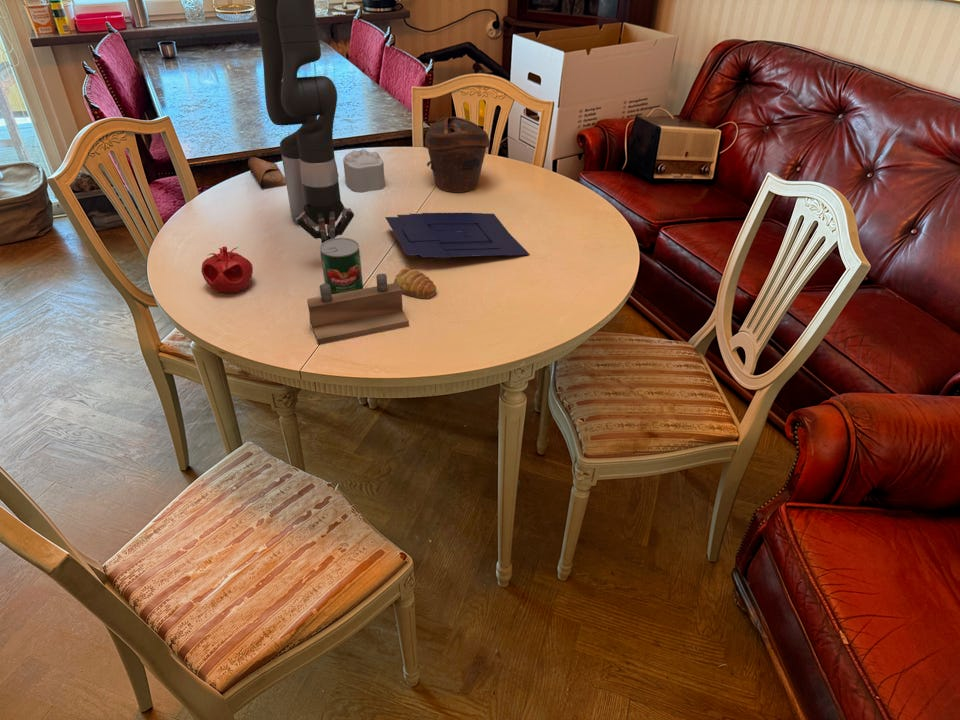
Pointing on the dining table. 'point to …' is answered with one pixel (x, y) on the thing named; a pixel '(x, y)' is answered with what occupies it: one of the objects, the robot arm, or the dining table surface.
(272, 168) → the sunglasses case
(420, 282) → the pastry
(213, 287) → the pomegranate
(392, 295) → the bench stop
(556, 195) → the dining table surface
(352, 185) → the lumpy-topped squat cylinder
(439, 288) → the dining table surface
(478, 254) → the navy folded cloth
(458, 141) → the case
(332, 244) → the canned tomato
